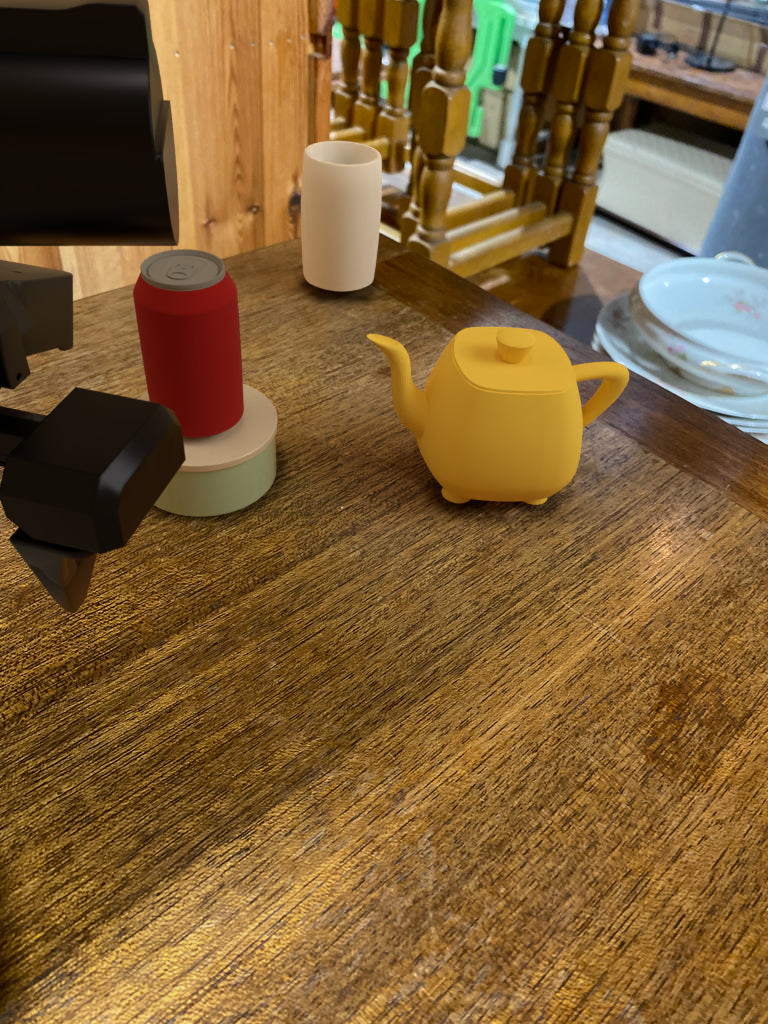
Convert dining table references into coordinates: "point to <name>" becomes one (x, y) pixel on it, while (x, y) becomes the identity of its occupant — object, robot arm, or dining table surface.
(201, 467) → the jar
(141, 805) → the dining table surface
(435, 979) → the dining table surface
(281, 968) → the dining table surface
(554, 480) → the teapot
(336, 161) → the cup
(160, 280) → the beverage can
